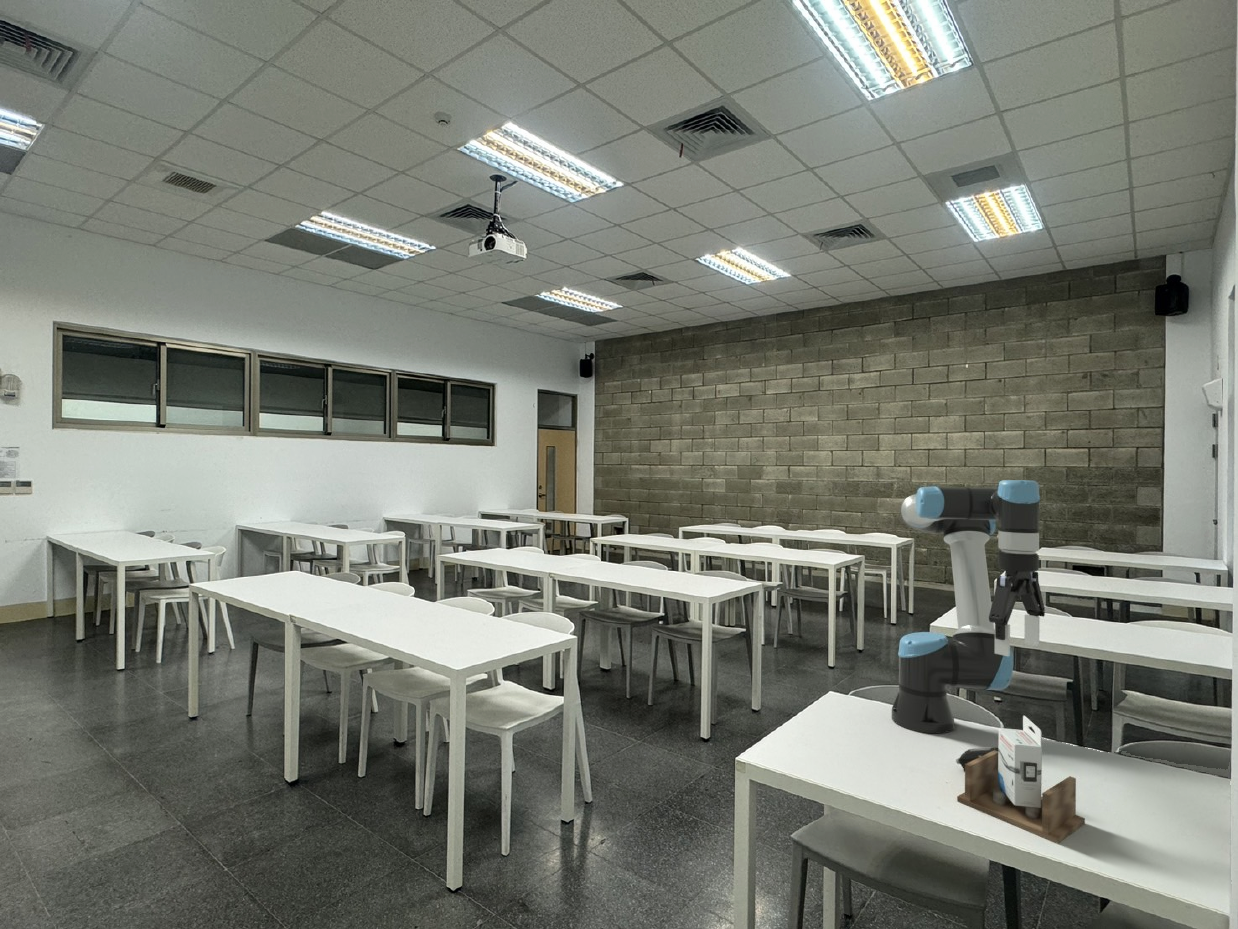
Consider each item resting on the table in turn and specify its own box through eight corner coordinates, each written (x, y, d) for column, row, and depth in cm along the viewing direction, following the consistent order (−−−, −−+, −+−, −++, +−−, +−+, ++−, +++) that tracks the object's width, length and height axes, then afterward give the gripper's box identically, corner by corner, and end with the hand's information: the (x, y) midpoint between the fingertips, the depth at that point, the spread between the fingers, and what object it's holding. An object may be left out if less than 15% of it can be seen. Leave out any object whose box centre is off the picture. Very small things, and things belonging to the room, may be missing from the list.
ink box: (996, 785, 132) (997, 712, 132) (1023, 787, 131) (1023, 714, 131) (1013, 806, 123) (1014, 728, 124) (1042, 809, 122) (1042, 730, 123)
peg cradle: (986, 785, 138) (986, 747, 138) (1084, 823, 123) (1084, 781, 123) (957, 801, 131) (957, 761, 131) (1057, 843, 116) (1057, 799, 116)
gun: (979, 788, 146) (953, 747, 147) (1049, 787, 133) (1020, 742, 134) (974, 796, 144) (948, 754, 146) (1044, 795, 131) (1014, 750, 133)
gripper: (1025, 546, 150) (1025, 637, 150) (970, 553, 136) (970, 654, 136) (1062, 549, 144) (1062, 645, 144) (1009, 557, 130) (1008, 663, 129)
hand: (1017, 650), depth 140 cm, fingers open, 13 cm apart
